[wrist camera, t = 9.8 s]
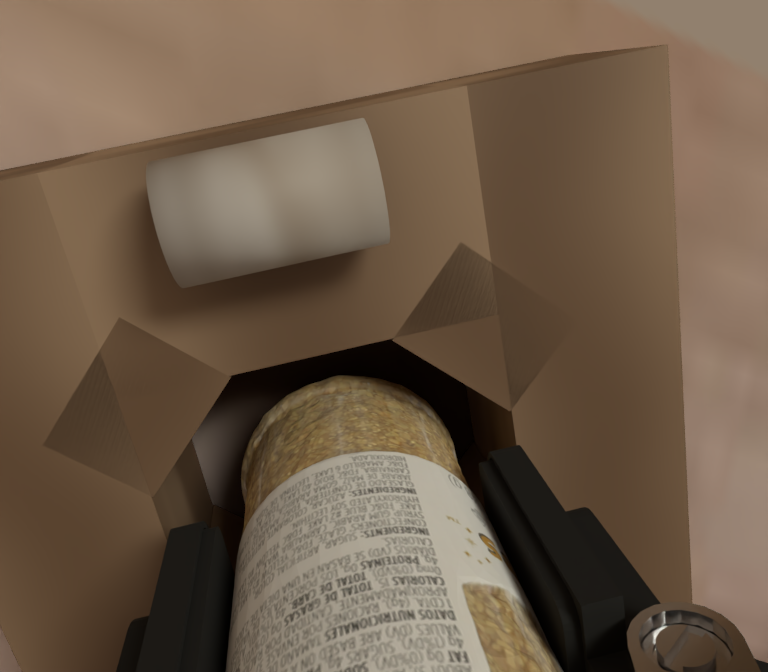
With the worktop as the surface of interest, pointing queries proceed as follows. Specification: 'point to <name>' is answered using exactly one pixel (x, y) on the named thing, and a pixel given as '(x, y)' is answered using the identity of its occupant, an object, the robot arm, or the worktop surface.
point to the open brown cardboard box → (338, 315)
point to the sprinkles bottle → (370, 545)
